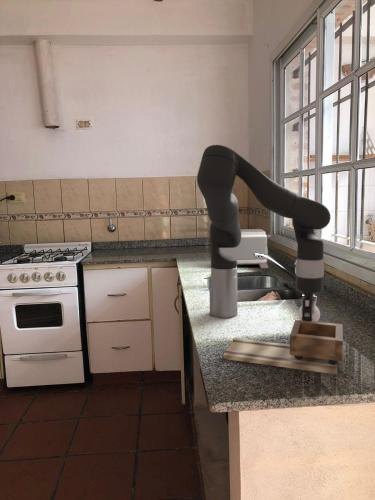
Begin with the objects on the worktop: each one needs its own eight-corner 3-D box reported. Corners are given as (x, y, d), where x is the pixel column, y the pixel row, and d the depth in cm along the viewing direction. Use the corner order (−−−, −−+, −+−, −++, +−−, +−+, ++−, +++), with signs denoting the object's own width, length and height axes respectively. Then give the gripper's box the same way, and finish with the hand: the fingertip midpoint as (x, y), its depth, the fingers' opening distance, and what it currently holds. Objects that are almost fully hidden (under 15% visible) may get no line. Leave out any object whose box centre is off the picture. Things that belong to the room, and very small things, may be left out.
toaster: (274, 268, 218) (274, 232, 215) (213, 269, 218) (212, 233, 215) (267, 261, 237) (267, 228, 234) (211, 263, 237) (211, 229, 234)
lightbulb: (305, 345, 109) (306, 307, 108) (293, 337, 115) (294, 302, 114) (323, 342, 111) (324, 305, 109) (311, 335, 117) (312, 299, 115)
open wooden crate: (289, 361, 96) (289, 335, 95) (294, 343, 107) (295, 319, 106) (341, 368, 91) (342, 341, 90) (341, 348, 102) (342, 324, 101)
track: (223, 358, 102) (223, 353, 102) (234, 342, 113) (234, 336, 113) (337, 374, 92) (337, 368, 92) (337, 354, 103) (337, 348, 103)
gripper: (322, 280, 102) (320, 339, 104) (324, 270, 115) (323, 322, 118) (293, 278, 105) (292, 335, 107) (298, 268, 118) (297, 320, 120)
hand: (308, 328), depth 112 cm, fingers open, 8 cm apart
